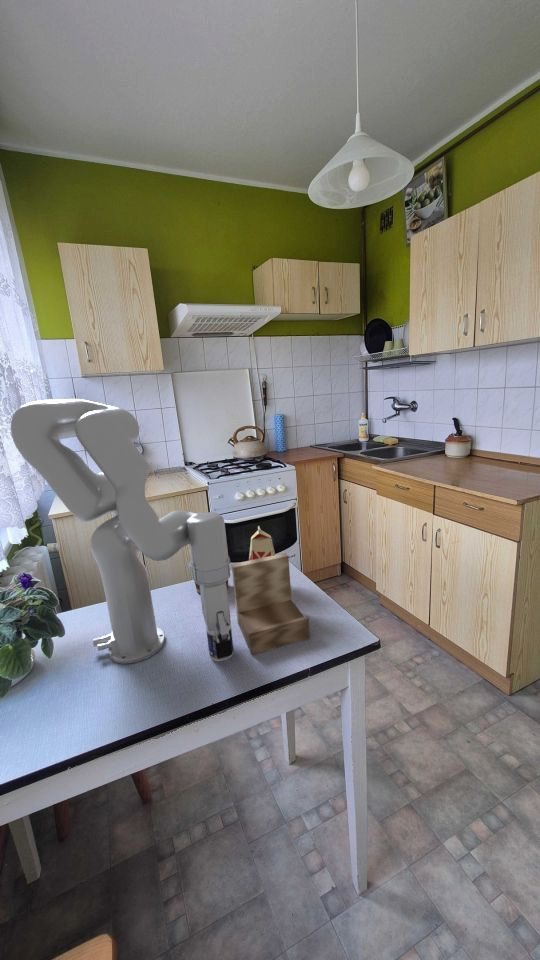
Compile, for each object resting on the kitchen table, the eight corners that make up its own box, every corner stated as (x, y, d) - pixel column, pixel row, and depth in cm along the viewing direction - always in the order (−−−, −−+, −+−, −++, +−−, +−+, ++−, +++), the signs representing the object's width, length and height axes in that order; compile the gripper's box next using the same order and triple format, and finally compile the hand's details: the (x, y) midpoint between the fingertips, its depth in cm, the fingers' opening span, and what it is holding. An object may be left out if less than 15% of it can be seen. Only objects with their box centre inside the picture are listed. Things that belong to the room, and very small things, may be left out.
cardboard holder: (251, 654, 84) (244, 588, 81) (237, 623, 96) (231, 564, 93) (309, 638, 88) (305, 574, 85) (289, 609, 100) (285, 553, 97)
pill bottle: (213, 665, 82) (208, 624, 80) (206, 651, 86) (201, 612, 84) (237, 656, 84) (233, 616, 82) (229, 643, 89) (224, 605, 86)
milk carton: (281, 599, 106) (275, 530, 102) (248, 601, 106) (241, 533, 102) (281, 583, 115) (276, 519, 110) (250, 584, 115) (244, 521, 111)
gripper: (189, 559, 88) (198, 627, 92) (199, 594, 72) (210, 676, 75) (221, 552, 90) (229, 620, 94) (238, 585, 74) (247, 665, 78)
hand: (221, 644), depth 85 cm, fingers open, 7 cm apart
